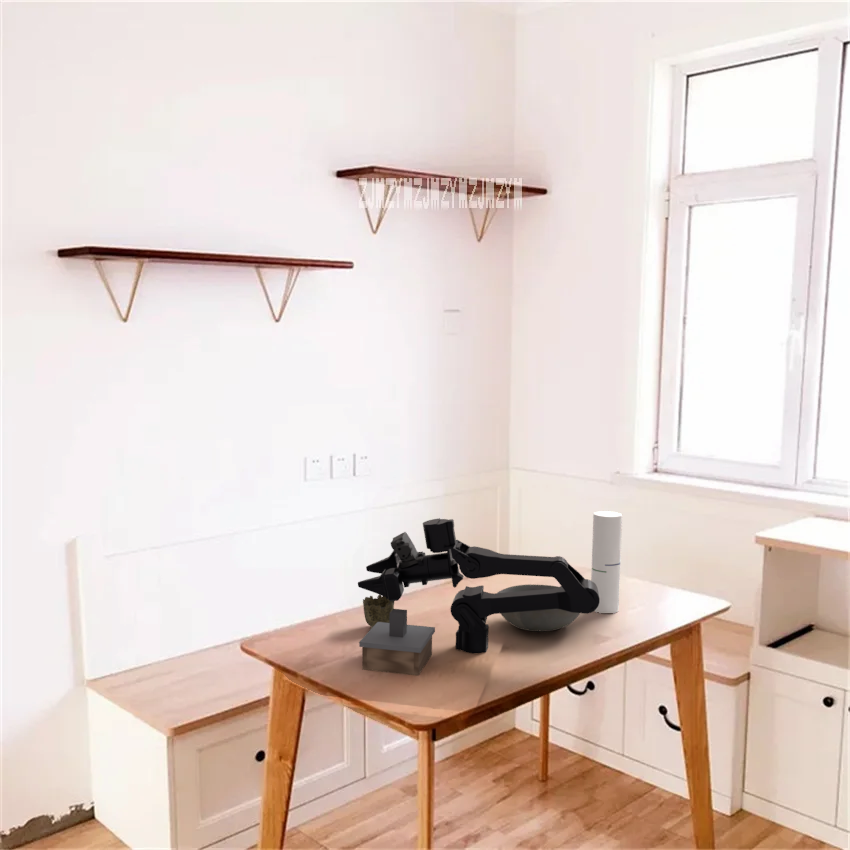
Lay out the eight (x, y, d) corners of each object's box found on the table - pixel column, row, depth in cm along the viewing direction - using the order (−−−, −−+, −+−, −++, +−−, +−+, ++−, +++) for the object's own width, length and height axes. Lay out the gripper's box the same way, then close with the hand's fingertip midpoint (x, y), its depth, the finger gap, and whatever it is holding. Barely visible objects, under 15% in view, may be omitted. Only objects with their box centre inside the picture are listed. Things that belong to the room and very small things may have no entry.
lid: (434, 631, 192) (435, 604, 191) (420, 652, 180) (420, 624, 179) (377, 626, 195) (377, 599, 194) (359, 646, 183) (359, 618, 182)
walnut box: (431, 658, 192) (432, 632, 192) (418, 680, 181) (418, 651, 180) (378, 653, 195) (379, 627, 195) (362, 674, 184) (362, 646, 183)
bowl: (519, 647, 200) (520, 613, 199) (479, 618, 219) (480, 587, 219) (599, 636, 208) (600, 603, 207) (554, 609, 227) (555, 579, 227)
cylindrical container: (621, 614, 224) (624, 517, 221) (592, 613, 224) (596, 516, 221) (615, 605, 231) (619, 511, 228) (588, 604, 231) (591, 510, 228)
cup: (366, 638, 204) (366, 605, 203) (359, 628, 211) (359, 595, 210) (397, 636, 206) (397, 603, 205) (390, 625, 213) (390, 593, 212)
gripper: (429, 519, 203) (363, 528, 206) (417, 548, 185) (345, 558, 188) (437, 565, 205) (373, 573, 208) (427, 598, 187) (356, 606, 190)
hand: (362, 576), depth 198 cm, fingers open, 9 cm apart
